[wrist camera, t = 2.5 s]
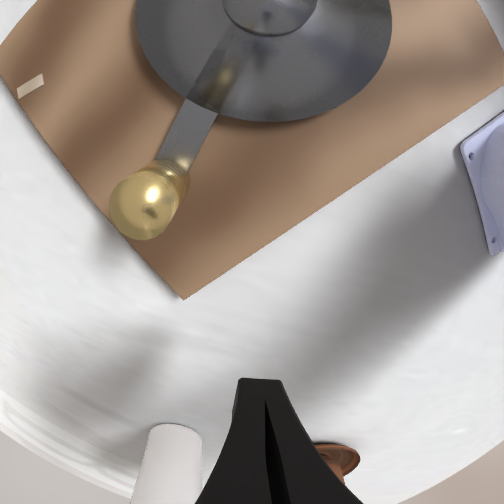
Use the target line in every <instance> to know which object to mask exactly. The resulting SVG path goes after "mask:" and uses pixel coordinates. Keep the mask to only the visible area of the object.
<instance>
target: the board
mask: <svg viewBox="0 0 504 504" xmlns="http://www.w3.org/2000/svg"><path fill="white" fill-rule="evenodd" d="M136 2H137V0H37V2H36V3H35V4H34V5H33V6H32V7H31V8H30V9H29V10H28V11H27V13H26V14H25V15H24V16H23V17H22V18H21V20H20V21H19V22H18V23H17V24H16V26H15V27H14V28H13V29H12V31H11V32H10V33H9V35H8V36H7V37H6V38H5V40H4V41H3V42H2V44H1V45H0V75H1V77H2V78H3V80H4V82H5V83H6V85H7V86H8V88H9V89H10V91H11V92H12V94H13V95H14V97H15V98H16V100H17V101H18V103H19V104H20V106H21V107H22V109H23V110H24V112H25V113H26V115H27V116H28V117H29V119H30V120H31V122H32V123H33V124H34V126H35V127H36V129H37V130H38V131H39V133H40V134H41V136H42V137H43V138H44V140H45V141H46V142H47V144H48V145H49V146H50V148H51V149H52V150H53V152H54V153H55V154H56V156H57V157H58V158H59V160H60V161H61V162H62V164H63V165H64V166H65V167H66V169H67V170H68V171H69V172H70V174H71V175H72V176H73V178H74V179H75V180H76V181H77V183H78V184H79V185H80V186H81V187H82V189H83V190H84V191H85V192H86V194H87V195H88V196H89V197H90V198H91V200H92V201H93V202H94V203H95V204H96V206H97V207H98V208H99V209H100V210H101V212H102V213H103V214H104V215H105V216H106V217H107V219H108V220H109V221H110V222H111V223H112V224H113V225H114V223H113V221H112V219H111V216H110V212H109V200H110V196H111V193H112V191H113V190H114V188H115V187H116V186H117V185H118V184H119V183H120V182H121V181H123V180H124V179H126V178H127V177H129V176H130V175H132V174H133V173H135V172H136V171H138V170H140V169H141V168H143V167H144V166H146V165H148V164H149V163H151V162H152V161H154V160H156V158H157V156H158V153H159V151H160V149H161V147H162V145H163V143H164V141H165V139H166V137H167V135H168V132H169V130H170V128H171V126H172V124H173V122H174V120H175V118H176V117H177V115H178V113H179V111H180V109H181V107H182V105H183V103H184V101H185V99H186V98H185V97H183V96H182V95H181V94H179V93H178V92H176V91H175V90H174V89H172V88H171V87H170V86H169V85H168V84H167V83H166V82H165V81H164V80H163V79H162V78H161V77H160V76H159V75H158V73H157V72H156V71H155V70H154V68H153V67H152V66H151V64H150V62H149V61H148V59H147V57H146V56H145V54H144V52H143V49H142V46H141V44H140V41H139V38H138V33H137V29H136V16H135V10H136ZM389 2H390V7H391V13H392V35H391V41H390V45H389V49H388V52H387V55H386V57H385V59H384V61H383V63H382V65H381V67H380V69H379V70H378V72H377V73H376V75H375V76H374V78H373V79H372V80H371V81H370V82H369V83H368V84H367V85H366V86H365V87H364V89H363V90H361V91H360V92H359V93H358V94H356V95H355V96H354V97H353V98H351V99H350V100H348V101H346V102H345V103H343V104H341V105H340V106H338V107H336V108H334V109H331V110H329V111H327V112H324V113H322V114H319V115H315V116H312V117H308V118H304V119H298V120H292V121H281V122H260V121H249V120H243V119H237V118H232V117H229V116H225V115H222V114H219V115H218V117H217V118H216V120H215V122H214V124H213V126H212V128H211V130H210V131H209V133H208V135H207V137H206V139H205V141H204V143H203V145H202V146H201V148H200V150H199V152H198V154H197V156H196V158H195V160H194V162H193V164H192V166H191V168H190V170H189V175H190V187H189V190H188V192H187V194H186V196H185V197H184V199H183V201H182V202H181V204H180V206H179V207H178V209H177V211H176V212H175V214H174V216H173V217H172V219H171V221H170V222H169V224H168V226H167V227H166V229H165V230H164V231H163V232H162V233H161V234H160V235H158V236H157V237H155V238H152V239H149V240H136V239H132V238H130V237H127V236H126V235H124V234H123V233H121V232H120V231H119V230H118V229H117V227H116V226H115V225H114V227H115V228H116V229H117V230H118V231H119V232H120V233H121V235H122V236H123V237H124V238H125V239H126V240H127V241H128V242H129V243H130V245H131V246H132V247H133V248H134V249H135V250H136V251H137V252H138V253H139V254H140V256H141V257H142V258H143V259H144V260H145V261H146V262H147V263H148V264H149V265H150V266H151V267H152V268H153V270H154V271H155V272H156V273H157V274H158V275H159V276H160V277H161V278H162V279H163V280H164V281H165V282H166V283H167V284H168V285H169V286H170V287H171V288H172V289H173V290H174V291H175V292H176V293H177V294H178V295H179V296H180V297H181V298H182V299H183V301H184V300H185V299H187V298H188V297H190V296H191V295H193V294H194V293H196V292H197V291H199V290H200V289H202V288H203V287H204V286H206V285H207V284H209V283H210V282H212V281H213V280H215V279H216V278H218V277H219V276H221V275H222V274H224V273H225V272H227V271H228V270H230V269H231V268H233V267H234V266H236V265H237V264H239V263H240V262H242V261H243V260H245V259H246V258H248V257H249V256H251V255H252V254H254V253H255V252H257V251H258V250H260V249H261V248H263V247H264V246H266V245H267V244H269V243H270V242H272V241H273V240H275V239H276V238H278V237H279V236H281V235H282V234H284V233H285V232H287V231H288V230H290V229H291V228H293V227H294V226H296V225H297V224H298V223H300V222H301V221H303V220H304V219H306V218H307V217H309V216H310V215H312V214H313V213H315V212H316V211H318V210H319V209H321V208H322V207H324V206H325V205H327V204H328V203H330V202H331V201H333V200H334V199H336V198H337V197H339V196H340V195H342V194H343V193H345V192H346V191H348V190H349V189H351V188H352V187H353V186H355V185H356V184H358V183H359V182H361V181H362V180H364V179H365V178H367V177H368V176H370V175H371V174H373V173H374V172H376V171H377V170H379V169H380V168H382V167H383V166H385V165H386V164H388V163H389V162H391V161H392V160H394V159H395V158H397V157H398V156H399V155H401V154H402V153H404V152H405V151H407V150H408V149H410V148H411V147H413V146H414V145H416V144H417V143H419V142H420V141H422V140H423V139H425V138H426V137H428V136H429V135H431V134H432V133H434V132H435V131H436V130H438V129H439V128H441V127H442V126H444V125H445V124H447V123H448V122H450V121H451V120H453V119H454V118H456V117H457V116H459V115H460V114H462V113H463V112H465V111H466V110H467V109H469V108H470V107H472V106H473V105H475V104H476V103H478V102H479V101H481V100H482V99H484V98H485V97H487V96H488V95H490V94H491V93H493V92H494V91H495V90H497V89H498V88H500V87H501V86H503V85H504V52H503V50H502V48H501V46H500V43H499V41H498V39H497V37H496V35H495V33H494V31H493V29H492V27H491V25H490V24H489V22H488V20H487V18H486V16H485V14H484V13H483V11H482V9H481V7H480V6H479V4H478V2H477V1H476V0H389Z"/></svg>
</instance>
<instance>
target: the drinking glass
mask: <svg viewBox="0 0 504 504" xmlns="http://www.w3.org/2000/svg"><path fill="white" fill-rule="evenodd" d="M202 447H203V442H202V439H201V437H200V435H199V434H198V433H197V432H195V431H194V430H192V429H190V428H188V427H185V426H182V425H177V424H160V425H157V426H155V427H153V428H152V429H151V430H150V432H149V436H148V440H147V445H146V449H145V453H144V456H143V460H142V463H141V467H140V470H139V474H138V477H137V480H136V484H135V487H134V491H133V494H132V498H131V501H130V504H195V502H196V501H197V499H198V497H199V496H200V494H201V492H202V490H203V477H202Z"/></svg>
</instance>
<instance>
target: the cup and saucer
mask: <svg viewBox="0 0 504 504" xmlns="http://www.w3.org/2000/svg"><path fill="white" fill-rule="evenodd" d="M315 447H316V448H317V450H318V451H319V453H320V454H321V456H322V457H323V459H324V460H325V461H326V463H327V464H328V465H329V467H330V468H331V469H332V470H333V472H334V473H335V474H336V475H337V477H338V478H339V479H340V480H341V481H342V482H343V483H344V485H345V482H344V478H343V476H345V475H347V474H348V473H350V472H351V471H353V470H354V469H355V468H356V467H357V466H358V464H359V462H360V456H359V454H358V452H357V451H356V450H354V449H352V448H349V447H347V446H343V445H337V444H319V445H315Z"/></svg>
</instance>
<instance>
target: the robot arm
mask: <svg viewBox="0 0 504 504" xmlns="http://www.w3.org/2000/svg"><path fill="white" fill-rule="evenodd" d="M460 150H461V154H462V156H463V159H464V162H465V165H466V168H467V171H468V174H469V177H470V180H471V183H472V186H473V189H474V193H475V196H476V199H477V203H478V207H479V210H480V214H481V218H482V222H483V226H484V230H485V235H486V239H487V244H488V249H489V253H490V254H491V255H493V256H495V255H497V254H498V253H499V252H500V251H501V250H502V251H503V252H504V112H503V113H501V114H500V115H499V116H497V117H496V118H495V119H493V120H492V121H490V122H489V123H488V124H486V125H485V126H484V127H482V128H481V129H480V130H478V131H477V132H476V133H474V134H473V135H471V136H470V137H469V138H467V139H466V140H465V141H463V142H462V144H461V146H460ZM469 154H471V156H470V158H469ZM195 504H363V503H362V502H361V501H360V500H359V499H358V498H357V497H356V496H355V495H354V494H353V493H352V492H351V491H350V490H349V489H348V488H347V487H346V486H345V485H344V483H343V482H342V481H341V480H340V479H339V478H338V477H337V475H336V474H335V473H334V472H333V470H332V469H331V468H330V467H329V465H328V464H327V463H326V461H325V460H324V459H323V457H322V456H321V454H320V453H319V451H318V450H317V448H316V447H315V445H314V444H313V442H312V441H311V439H310V437H309V436H308V434H307V432H306V431H305V429H304V427H303V425H302V424H301V422H300V420H299V418H298V416H297V414H296V412H295V410H294V408H293V407H292V405H291V402H290V400H289V398H288V396H287V394H286V391H285V389H284V387H283V384H282V382H281V381H280V380H270V379H253V378H241V379H239V380H238V385H237V390H236V395H235V400H234V405H233V410H232V423H231V426H230V430H229V433H228V435H227V438H226V441H225V443H224V446H223V448H222V451H221V453H220V456H219V458H218V460H217V463H216V465H215V467H214V469H213V471H212V473H211V475H210V477H209V479H208V481H207V483H206V485H205V487H204V488H203V490H202V492H201V494H200V496H199V497H198V499H197V501H196V502H195Z"/></svg>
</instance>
